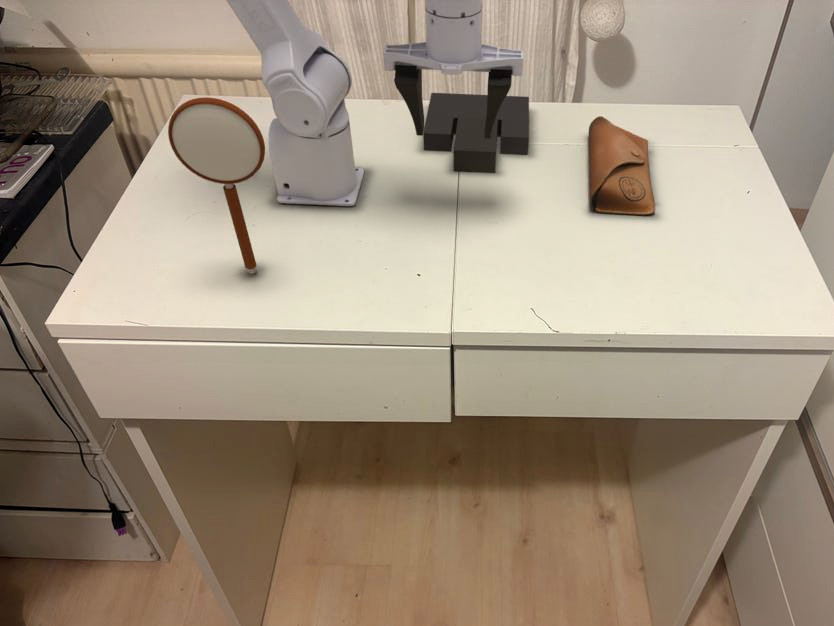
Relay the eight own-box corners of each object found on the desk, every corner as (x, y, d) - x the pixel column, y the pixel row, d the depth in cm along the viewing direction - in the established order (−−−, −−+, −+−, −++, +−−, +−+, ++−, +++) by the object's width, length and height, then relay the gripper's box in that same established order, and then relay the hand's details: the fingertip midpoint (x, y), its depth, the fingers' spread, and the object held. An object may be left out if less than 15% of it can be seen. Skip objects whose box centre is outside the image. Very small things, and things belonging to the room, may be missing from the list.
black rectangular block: (453, 170, 92) (453, 150, 90) (458, 135, 99) (458, 115, 96) (495, 172, 92) (495, 151, 90) (497, 137, 99) (497, 116, 96)
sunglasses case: (660, 213, 86) (640, 169, 82) (605, 234, 89) (584, 193, 85) (648, 138, 98) (630, 96, 94) (600, 158, 101) (581, 119, 97)
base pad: (423, 150, 96) (423, 133, 94) (431, 108, 104) (431, 92, 102) (527, 154, 96) (529, 137, 94) (527, 112, 103) (528, 96, 102)
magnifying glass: (293, 268, 78) (256, 94, 64) (291, 278, 77) (252, 103, 62) (214, 267, 78) (159, 92, 63) (210, 277, 77) (153, 102, 62)
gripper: (375, 20, 68) (385, 148, 78) (526, 26, 68) (517, 153, 78) (385, -8, 73) (394, 116, 83) (526, -2, 73) (518, 121, 83)
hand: (454, 132), depth 81 cm, fingers open, 7 cm apart
